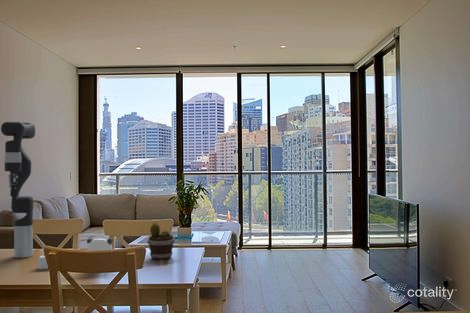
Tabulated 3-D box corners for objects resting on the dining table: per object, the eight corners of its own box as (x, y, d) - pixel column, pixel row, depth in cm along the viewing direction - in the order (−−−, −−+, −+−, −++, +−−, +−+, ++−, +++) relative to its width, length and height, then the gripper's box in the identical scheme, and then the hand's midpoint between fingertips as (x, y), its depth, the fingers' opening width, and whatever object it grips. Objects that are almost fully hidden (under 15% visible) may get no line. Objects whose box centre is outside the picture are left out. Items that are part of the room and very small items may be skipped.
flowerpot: (177, 255, 240) (177, 219, 240) (171, 261, 224) (170, 222, 225) (152, 255, 241) (152, 219, 241) (143, 261, 226) (143, 222, 226)
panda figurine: (114, 266, 214) (114, 236, 214) (110, 272, 203) (110, 240, 203) (88, 267, 212) (88, 236, 213) (84, 273, 201) (84, 240, 201)
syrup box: (38, 269, 209) (70, 267, 213) (38, 257, 209) (70, 255, 213) (39, 266, 214) (70, 264, 218) (39, 255, 214) (71, 253, 218)
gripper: (23, 161, 212) (23, 196, 212) (19, 161, 223) (19, 195, 223) (6, 161, 208) (5, 197, 208) (3, 161, 219) (3, 196, 219)
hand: (13, 196), depth 216 cm, fingers closed
